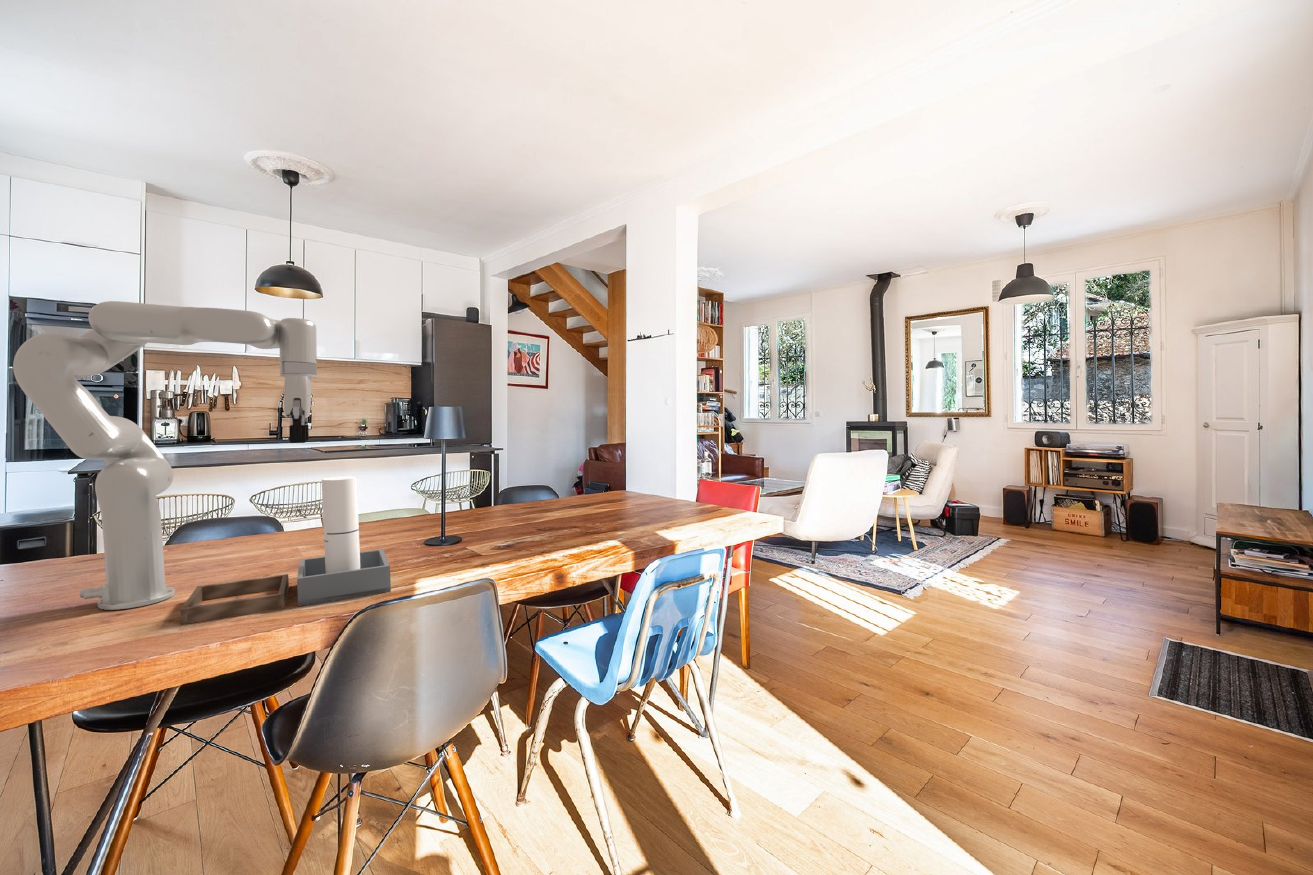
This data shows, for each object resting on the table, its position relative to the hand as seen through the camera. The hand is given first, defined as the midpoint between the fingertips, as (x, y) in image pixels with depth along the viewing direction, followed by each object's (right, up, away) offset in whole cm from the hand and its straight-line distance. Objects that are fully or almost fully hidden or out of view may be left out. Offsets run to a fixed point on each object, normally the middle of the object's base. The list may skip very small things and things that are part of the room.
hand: (299, 441), depth 135 cm
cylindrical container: (+13, -34, -4) cm, 36 cm away
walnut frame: (-4, -35, -14) cm, 38 cm away
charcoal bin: (+13, -34, -3) cm, 37 cm away
